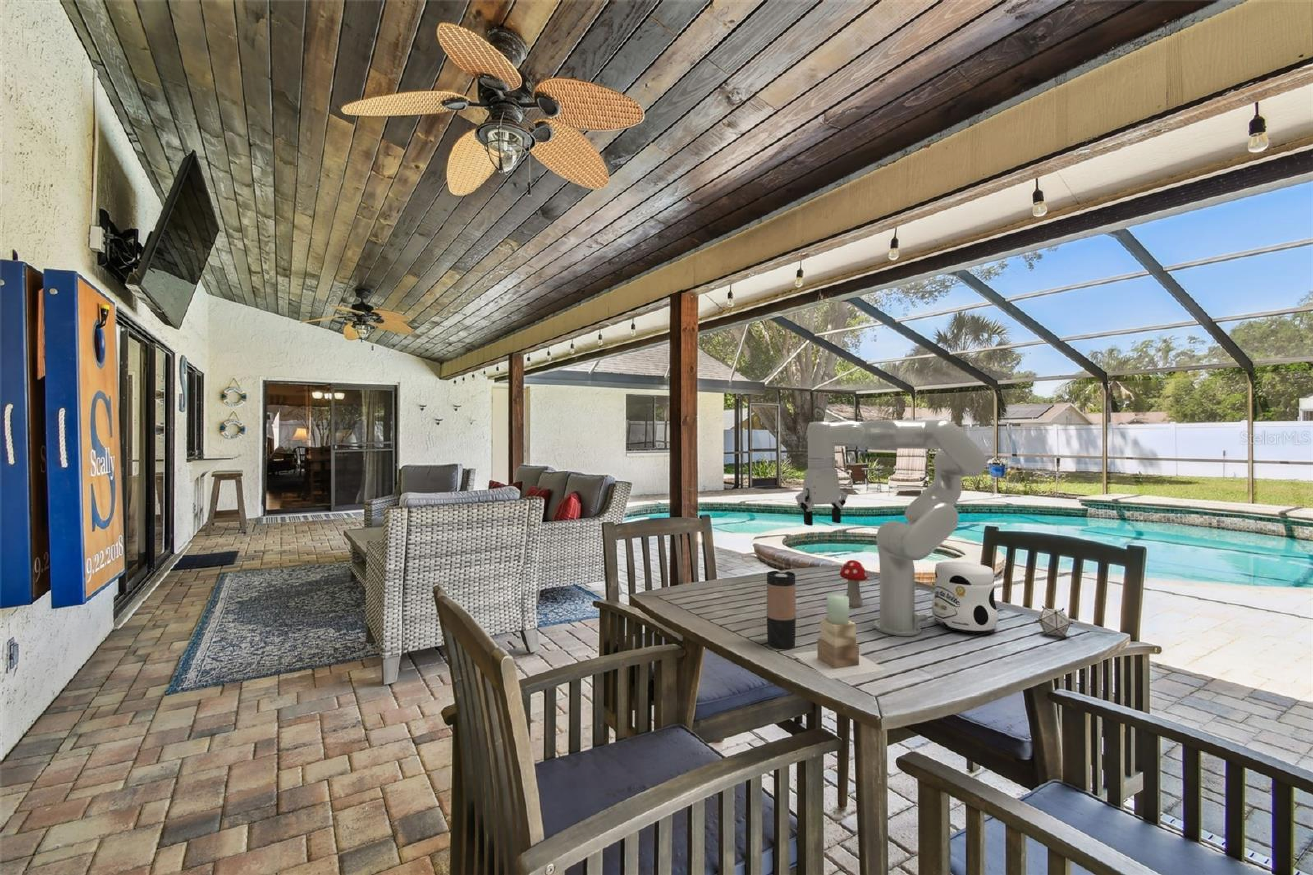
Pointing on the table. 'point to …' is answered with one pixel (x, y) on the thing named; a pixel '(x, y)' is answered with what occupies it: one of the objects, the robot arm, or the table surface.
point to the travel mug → (781, 610)
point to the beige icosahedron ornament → (1054, 622)
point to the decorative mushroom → (854, 581)
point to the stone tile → (832, 673)
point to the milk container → (964, 597)
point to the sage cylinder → (838, 609)
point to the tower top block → (837, 633)
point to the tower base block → (838, 654)
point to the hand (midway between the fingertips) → (822, 523)
